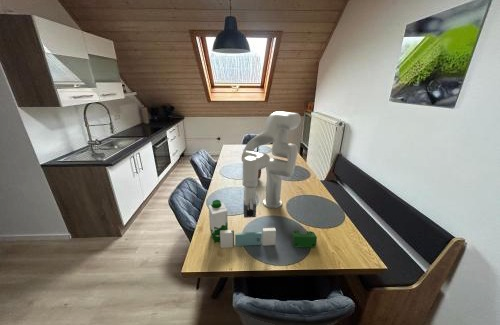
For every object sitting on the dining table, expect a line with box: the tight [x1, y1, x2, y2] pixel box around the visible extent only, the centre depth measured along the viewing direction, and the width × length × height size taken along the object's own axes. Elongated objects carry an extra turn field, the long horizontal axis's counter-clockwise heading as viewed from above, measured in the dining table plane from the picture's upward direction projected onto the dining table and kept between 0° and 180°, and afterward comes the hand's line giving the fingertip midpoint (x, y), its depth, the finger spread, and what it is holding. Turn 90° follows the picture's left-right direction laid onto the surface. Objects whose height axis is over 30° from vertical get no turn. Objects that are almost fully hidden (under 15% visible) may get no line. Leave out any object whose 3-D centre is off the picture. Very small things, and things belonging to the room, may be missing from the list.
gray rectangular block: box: [243, 199, 257, 219], centre depth 108 cm, size 4×6×8 cm
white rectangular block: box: [219, 227, 277, 249], centre depth 104 cm, size 2×27×9 cm, turn 95°
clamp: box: [291, 230, 318, 249], centre depth 107 cm, size 12×6×9 cm, turn 84°
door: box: [234, 231, 263, 247], centre depth 104 cm, size 2×13×7 cm, turn 95°
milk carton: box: [208, 199, 229, 244], centre depth 107 cm, size 9×9×20 cm
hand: (249, 212), depth 109 cm, fingers closed on gray rectangular block, 4 cm apart
